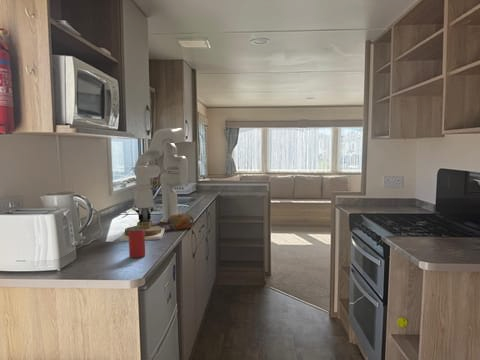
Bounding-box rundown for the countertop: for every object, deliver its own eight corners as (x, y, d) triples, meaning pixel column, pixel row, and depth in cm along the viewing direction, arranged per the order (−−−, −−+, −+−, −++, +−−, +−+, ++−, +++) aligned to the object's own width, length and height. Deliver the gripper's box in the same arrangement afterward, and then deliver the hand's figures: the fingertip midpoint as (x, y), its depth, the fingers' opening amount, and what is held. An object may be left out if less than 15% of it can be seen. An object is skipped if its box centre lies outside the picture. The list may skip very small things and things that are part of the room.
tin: (167, 230, 206) (167, 215, 205) (167, 228, 209) (166, 214, 208) (193, 228, 210) (193, 213, 209) (193, 227, 213) (192, 213, 212)
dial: (128, 229, 201) (128, 221, 200) (163, 227, 203) (162, 220, 202) (121, 237, 182) (120, 228, 181) (159, 235, 184) (158, 226, 183)
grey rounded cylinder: (142, 224, 199) (141, 207, 199) (148, 224, 200) (148, 206, 199) (141, 226, 196) (140, 208, 195) (147, 225, 196) (147, 207, 195)
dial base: (127, 232, 202) (127, 229, 201) (165, 230, 204) (165, 227, 204) (118, 241, 181) (118, 237, 181) (160, 239, 183) (160, 236, 183)
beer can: (146, 254, 156) (146, 227, 155) (143, 258, 150) (142, 230, 149) (131, 254, 156) (130, 227, 155) (127, 258, 150) (126, 230, 149)
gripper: (155, 186, 204) (156, 218, 205) (126, 188, 195) (127, 221, 196) (160, 187, 197) (161, 220, 199) (130, 189, 189) (131, 223, 190)
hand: (144, 220), depth 198 cm, fingers closed on grey rounded cylinder, 3 cm apart
